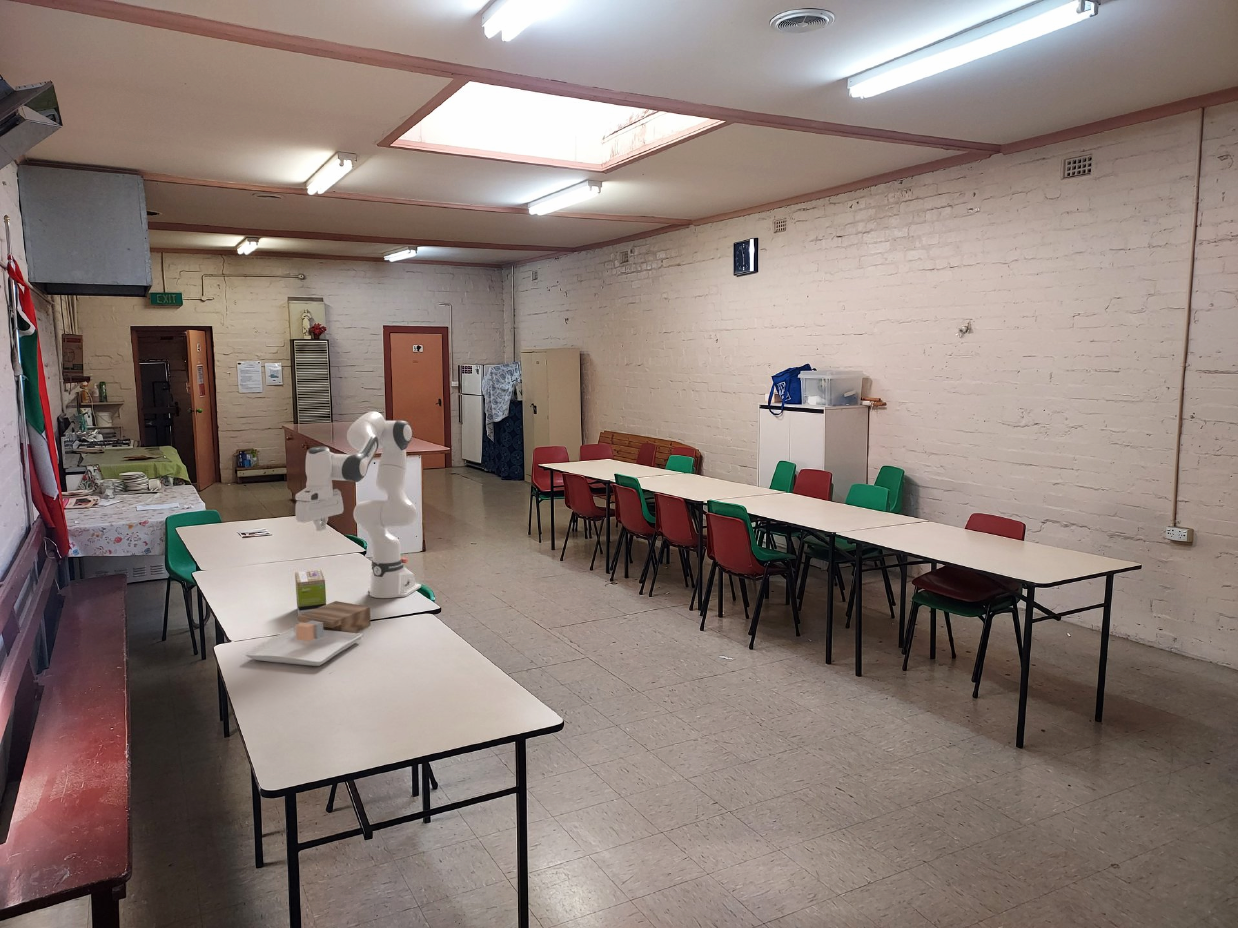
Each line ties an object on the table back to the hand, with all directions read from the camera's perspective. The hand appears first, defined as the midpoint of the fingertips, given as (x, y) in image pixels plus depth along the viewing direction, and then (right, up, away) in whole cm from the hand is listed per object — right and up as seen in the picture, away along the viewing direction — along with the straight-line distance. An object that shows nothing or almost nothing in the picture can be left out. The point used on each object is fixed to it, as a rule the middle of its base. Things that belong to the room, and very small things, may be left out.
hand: (321, 530), depth 293 cm
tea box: (-10, -33, +18) cm, 39 cm away
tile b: (+5, -32, -17) cm, 37 cm away
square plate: (+3, -39, -22) cm, 45 cm away
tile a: (+3, -32, -19) cm, 38 cm away
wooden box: (+6, -36, -2) cm, 36 cm away
